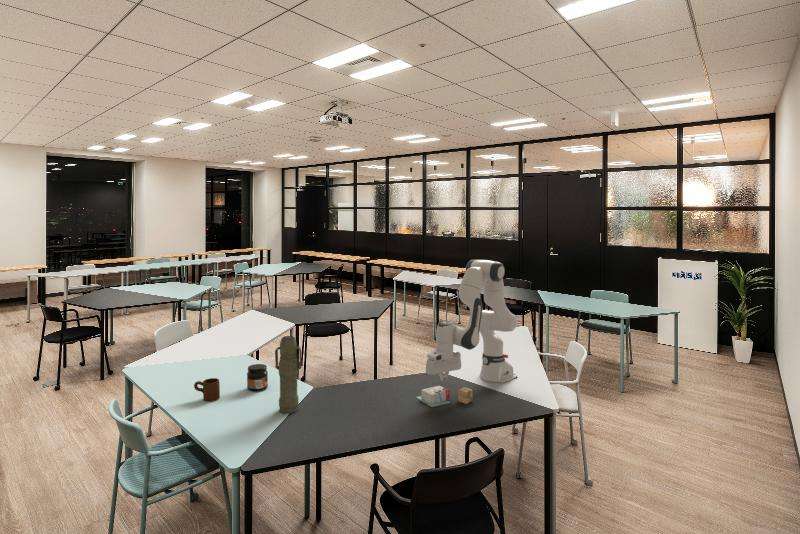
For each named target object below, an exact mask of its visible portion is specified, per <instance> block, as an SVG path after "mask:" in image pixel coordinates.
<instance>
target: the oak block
mask: <svg viewBox="0 0 800 534" xmlns="http://www.w3.org/2000/svg"><path fill="white" fill-rule="evenodd" d="M457 393H458V395H457V398H458V399H457V401H458V402H459V403H463V404H465V405H467V404H469V403H471V402H473V389H471V388H469V387H466V386H465V387H464V386H463V387H461V388H459V389H458V392H457Z"/></svg>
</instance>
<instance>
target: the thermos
mask: <svg viewBox="0 0 800 534" xmlns="http://www.w3.org/2000/svg"><path fill="white" fill-rule="evenodd" d="M297 350H299V351H298V353H299V354H298V355H299V358H298V355H297ZM279 356H280V357H279ZM298 359H299V361H298ZM274 360H275V369H276V370H277V371H278V376H279V399H278V407H279V413H280V414H283V415H290V414H294V413H297V412H298V411H299V404H300V403H299V394H298V374H299V370H301V369H302V348H301V347H300V346H298V345H297V340H296V337H294V336H293V335H285V336H282V337H281V338H280V343H279V346H278V347H276V348H275V350H274Z"/></svg>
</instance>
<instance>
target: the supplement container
mask: <svg viewBox="0 0 800 534" xmlns="http://www.w3.org/2000/svg"><path fill="white" fill-rule="evenodd" d="M267 367H268V366H267V365H266V364H263V363H256V364H251V365H249V366H248V367H247V372H246V382H247V383H246V385H247V386H246V388H247V390H248V391H250V392H255V393H256V392H257V393H258V392H262V391H265V390H267V389H268V387H269V383H268V382H269V381H268V371H267V370H268V369H267Z"/></svg>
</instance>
